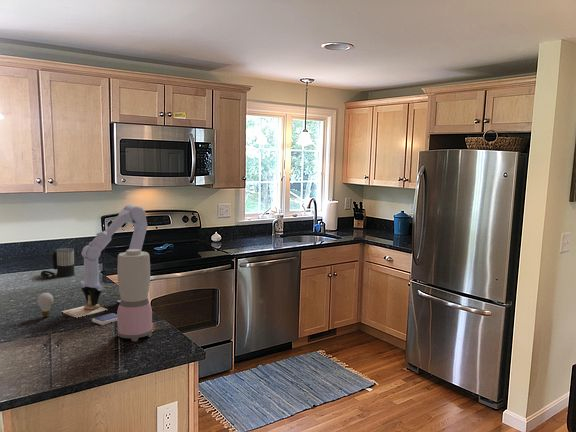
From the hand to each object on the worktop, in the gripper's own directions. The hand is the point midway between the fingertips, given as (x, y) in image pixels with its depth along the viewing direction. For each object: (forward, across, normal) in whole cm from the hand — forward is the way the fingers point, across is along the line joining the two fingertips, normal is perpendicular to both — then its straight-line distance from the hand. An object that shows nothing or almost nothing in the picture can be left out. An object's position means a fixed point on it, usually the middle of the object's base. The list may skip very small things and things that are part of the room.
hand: (92, 304), depth 203 cm
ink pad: (+2, +18, -4) cm, 19 cm away
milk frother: (+2, -68, +21) cm, 71 cm away
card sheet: (+2, 0, -4) cm, 4 cm away
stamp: (+2, 0, 0) cm, 2 cm away
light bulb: (+2, -5, -18) cm, 18 cm away
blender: (+2, +39, -8) cm, 40 cm away
